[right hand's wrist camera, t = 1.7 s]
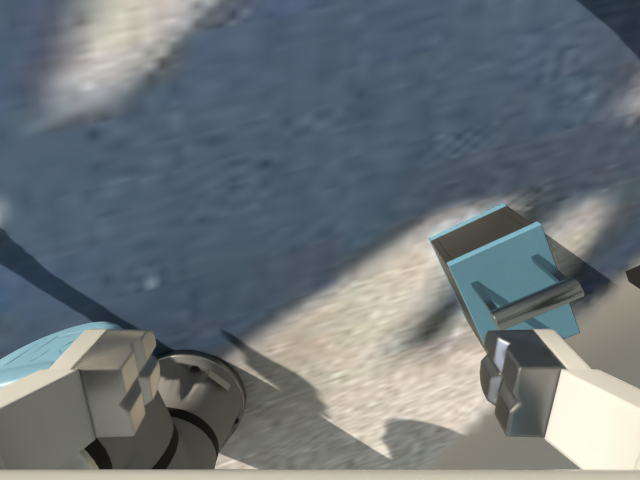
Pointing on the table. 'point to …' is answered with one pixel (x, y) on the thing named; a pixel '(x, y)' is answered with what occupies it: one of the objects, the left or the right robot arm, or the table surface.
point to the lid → (516, 285)
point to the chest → (474, 243)
